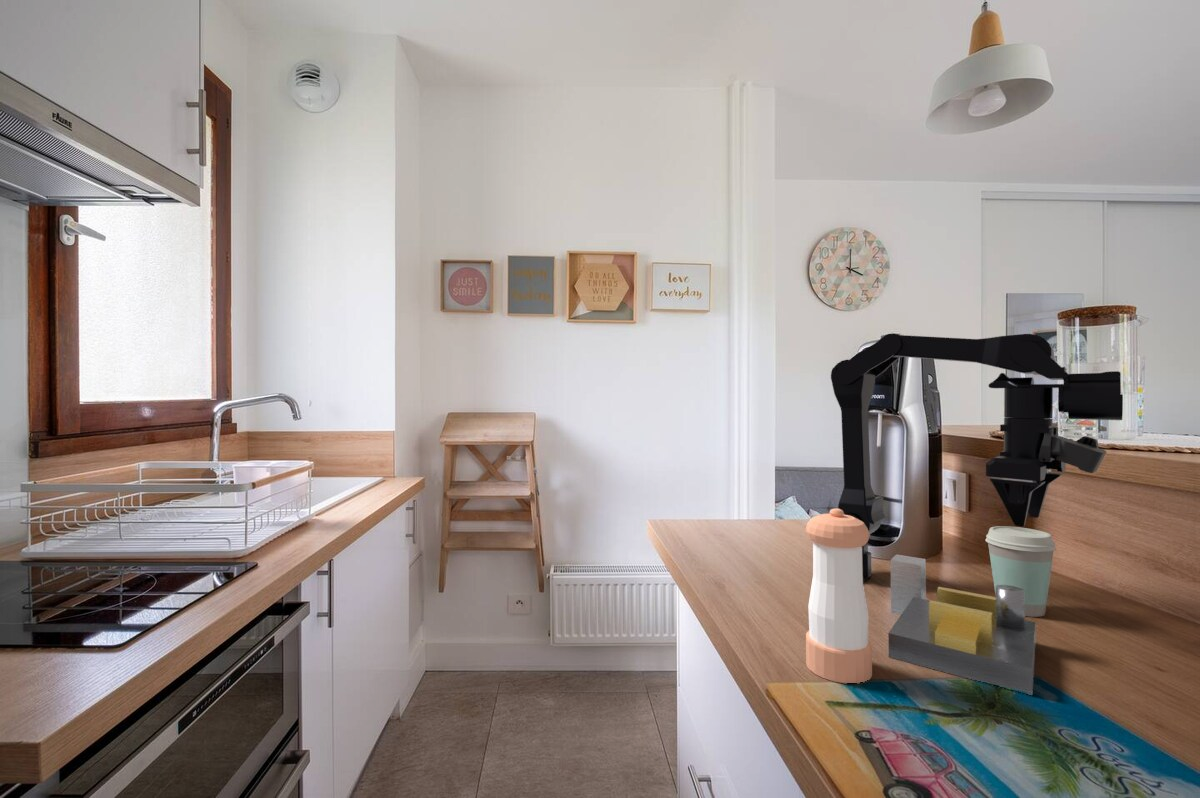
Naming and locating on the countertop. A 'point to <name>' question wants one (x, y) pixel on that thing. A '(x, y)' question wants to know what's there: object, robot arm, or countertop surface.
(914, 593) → the grey rectangular block
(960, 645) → the gray yellow fixture base
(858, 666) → the salt shaker
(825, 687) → the countertop surface
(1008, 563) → the coffee cup
